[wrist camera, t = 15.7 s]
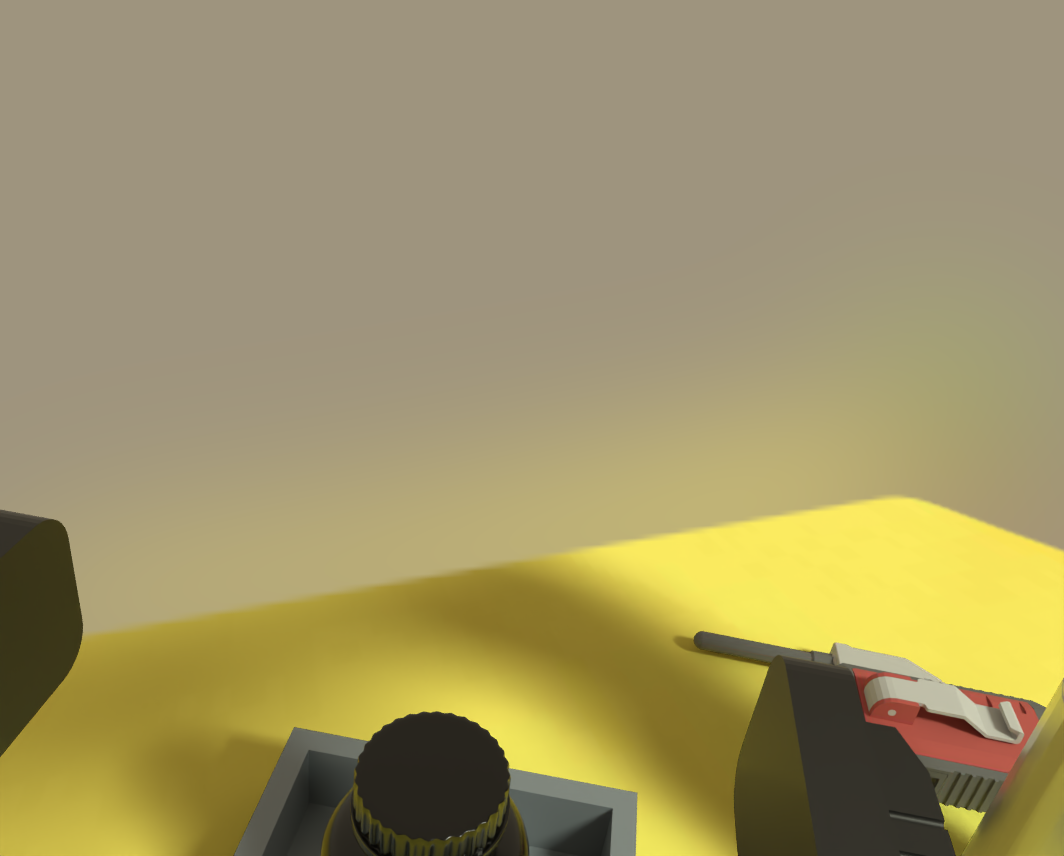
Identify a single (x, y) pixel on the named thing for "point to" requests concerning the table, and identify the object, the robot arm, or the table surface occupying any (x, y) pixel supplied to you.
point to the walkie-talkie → (924, 716)
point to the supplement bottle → (428, 794)
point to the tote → (327, 775)
